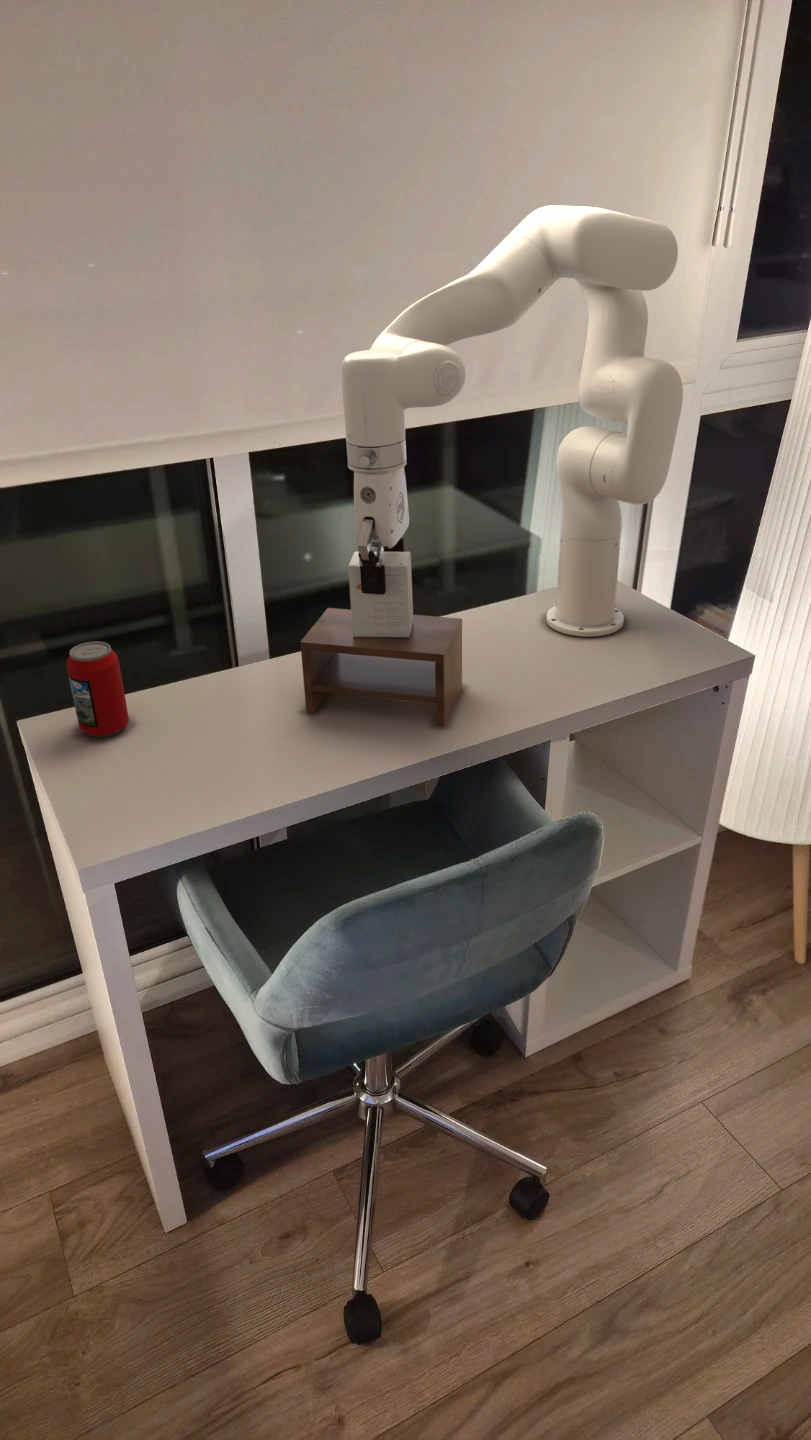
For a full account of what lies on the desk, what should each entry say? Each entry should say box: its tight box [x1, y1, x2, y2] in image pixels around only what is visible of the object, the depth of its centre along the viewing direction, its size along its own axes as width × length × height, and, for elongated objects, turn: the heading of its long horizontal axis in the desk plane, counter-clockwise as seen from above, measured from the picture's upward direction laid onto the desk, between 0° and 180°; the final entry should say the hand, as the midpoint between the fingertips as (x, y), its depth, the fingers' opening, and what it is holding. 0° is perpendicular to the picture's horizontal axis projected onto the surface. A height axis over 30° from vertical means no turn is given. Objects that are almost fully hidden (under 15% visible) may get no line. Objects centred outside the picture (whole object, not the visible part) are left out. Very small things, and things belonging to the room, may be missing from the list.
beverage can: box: [65, 640, 130, 738], centre depth 141 cm, size 7×7×12 cm
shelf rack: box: [300, 607, 463, 728], centre depth 146 cm, size 12×20×11 cm, turn 76°
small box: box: [347, 551, 414, 637], centre depth 141 cm, size 8×6×10 cm
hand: (383, 579), depth 140 cm, fingers open, 9 cm apart
